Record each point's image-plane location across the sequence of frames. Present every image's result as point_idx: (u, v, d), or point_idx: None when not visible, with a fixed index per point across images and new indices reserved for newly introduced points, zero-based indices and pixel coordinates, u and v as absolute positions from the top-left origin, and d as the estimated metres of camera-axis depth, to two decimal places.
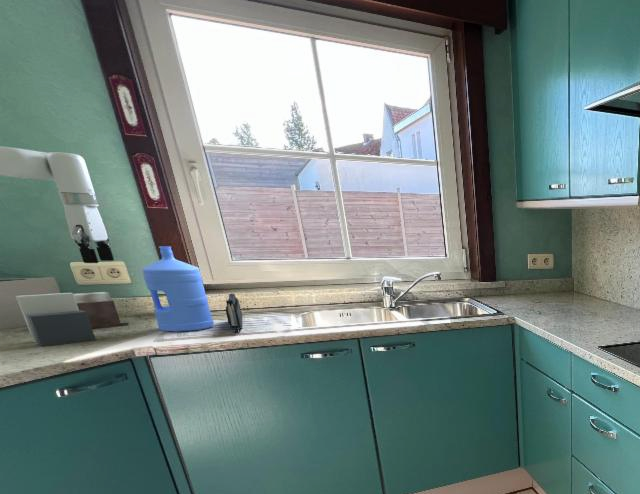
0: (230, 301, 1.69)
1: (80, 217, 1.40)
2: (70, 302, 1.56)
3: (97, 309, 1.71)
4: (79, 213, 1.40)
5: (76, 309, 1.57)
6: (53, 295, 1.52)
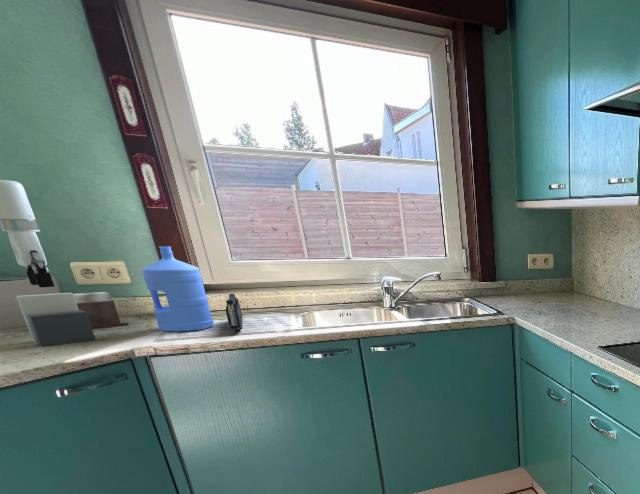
0: (230, 301, 1.69)
1: (34, 243, 1.44)
2: (70, 302, 1.56)
3: (97, 309, 1.71)
4: (32, 239, 1.44)
5: (76, 309, 1.57)
6: (53, 295, 1.52)
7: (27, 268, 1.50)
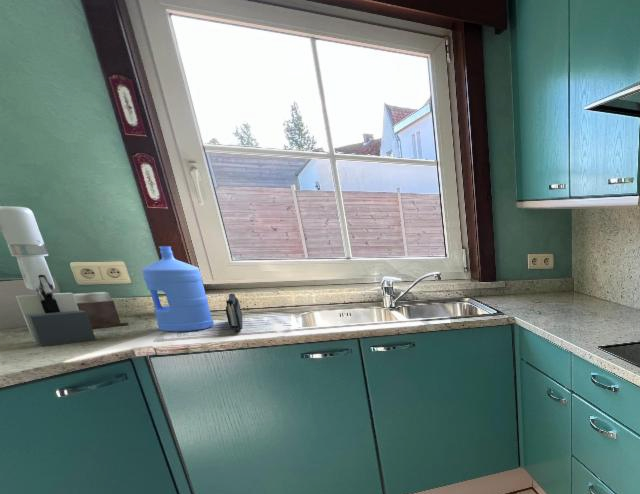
0: (230, 301, 1.69)
1: (42, 267, 1.47)
2: (70, 302, 1.56)
3: (97, 309, 1.71)
4: (41, 264, 1.47)
5: (76, 309, 1.57)
6: None
7: (38, 294, 1.51)
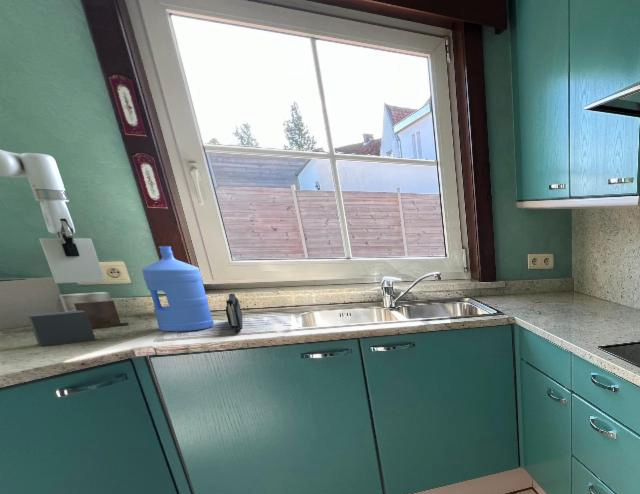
0: (230, 301, 1.69)
1: (64, 212, 1.58)
2: (89, 247, 1.67)
3: (97, 309, 1.71)
4: (63, 208, 1.58)
5: (94, 254, 1.68)
6: None
7: None
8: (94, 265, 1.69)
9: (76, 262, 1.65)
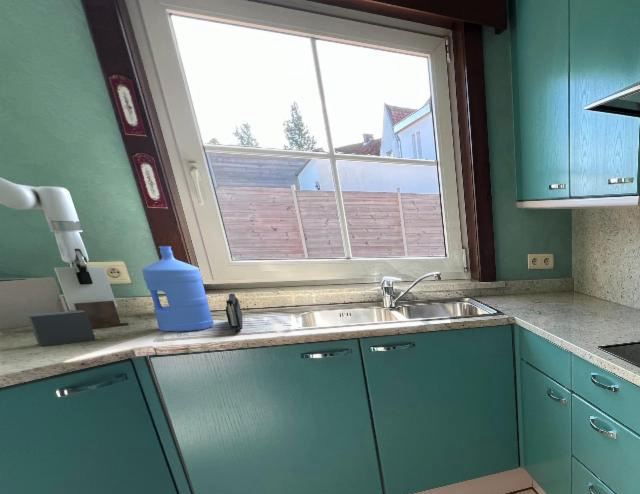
0: (230, 301, 1.69)
1: (78, 242, 1.63)
2: (101, 274, 1.72)
3: (97, 309, 1.71)
4: (77, 238, 1.63)
5: (107, 281, 1.74)
6: None
7: None
8: (107, 292, 1.74)
9: (89, 289, 1.71)
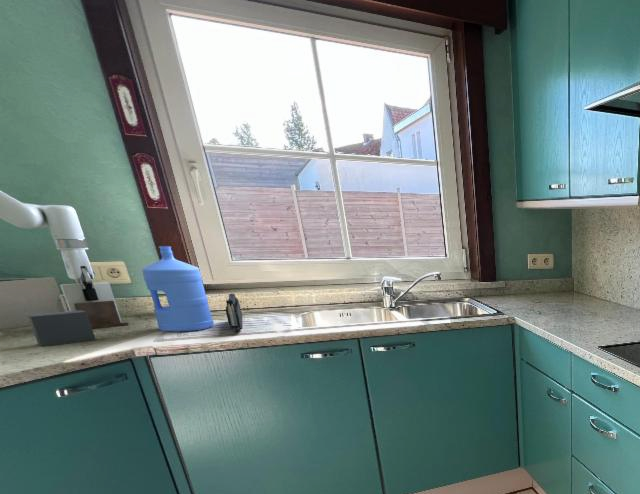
0: (230, 301, 1.69)
1: (84, 259, 1.65)
2: (106, 290, 1.74)
3: (97, 309, 1.71)
4: (83, 256, 1.65)
5: (111, 297, 1.76)
6: None
7: (79, 283, 1.70)
8: None
9: None
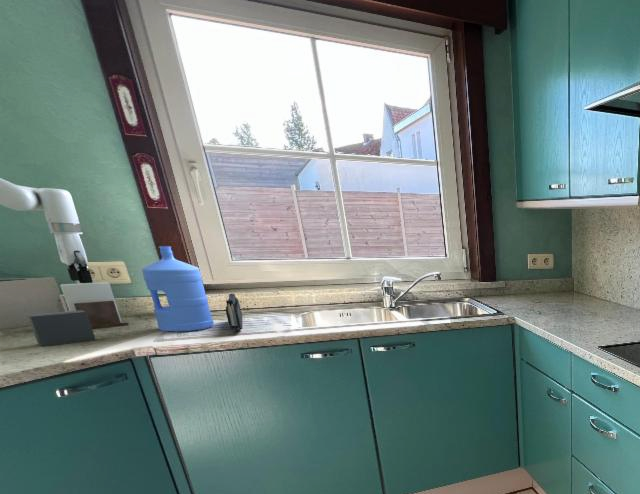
0: (230, 301, 1.69)
1: (78, 244, 1.63)
2: (106, 290, 1.74)
3: (97, 309, 1.71)
4: (76, 240, 1.63)
5: (111, 297, 1.76)
6: (92, 284, 1.71)
7: (69, 265, 1.69)
8: None
9: None
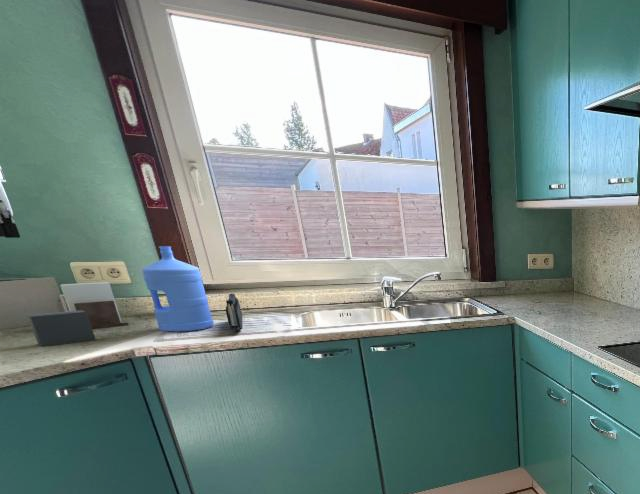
0: (230, 301, 1.69)
1: None
2: (106, 290, 1.74)
3: (97, 309, 1.71)
4: None
5: (111, 297, 1.76)
6: (92, 284, 1.71)
7: None
8: None
9: None
